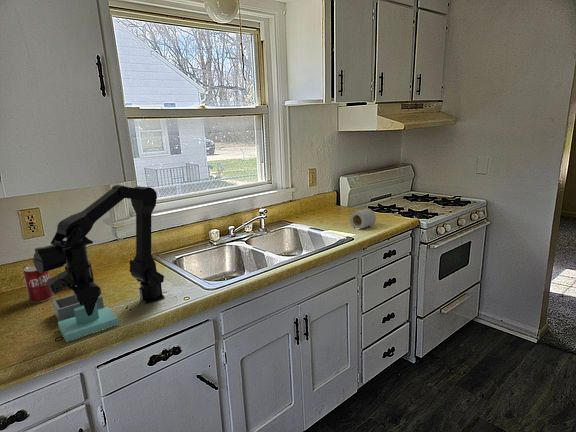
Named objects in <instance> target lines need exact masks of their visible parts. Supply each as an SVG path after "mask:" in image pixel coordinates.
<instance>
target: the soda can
mask: <svg viewBox="0 0 576 432" xmlns="http://www.w3.org/2000/svg"><path fill="white" fill-rule="evenodd" d="M22 273H23V278H24V282H25V287H26V292H27V297H28V300H29V302H30V303H31V304H38V303H44V302H47V301H49V300H50V299H52V297H53V296H54V293H53V292H52V291H51V289H50V288H49V287H48V285H47V284H46V281H47V280H49V279H51V278H50V274H49V271H47V272H43V273H39V272H38V271H37V269H36V268H35V265H34V264H33V265H30V266H27V267H26V268H24V269H23V272H22Z"/></svg>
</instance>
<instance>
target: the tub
mask: <svg viewBox="0 0 576 432" xmlns="http://www.w3.org/2000/svg"><path fill="white" fill-rule="evenodd" d="M96 304H97V308H98V310H99V309H102V308H105V307H104V301H103V296H102V295H101V294H100V296H99V297H98V299H97V302H96ZM81 306H84V305H80V303H79V301H77V300H76V298H75V295H74V294H70V295H67V296H64V297H63V296H62V297H59V298H57V299H52V307H53V311H54V316H55V317H56V320H57V322H60V321H63V320H66V319H69V318H73V317H75V313H74V309H75V308H78V307H81Z"/></svg>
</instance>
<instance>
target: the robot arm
mask: <svg viewBox="0 0 576 432" xmlns="http://www.w3.org/2000/svg"><path fill="white" fill-rule="evenodd" d="M157 194H158V193H157V191H156V190H155V189H154V188H152V187H148V186H140V185H138V186H135V187H129V186H126V185H123V184H122V185H120V184H115V185H113V186H112V187H111V189H110V190H108V191H107V192H105V193H104V194H103V195H101V196H100V197H99V198H98V199H97V200H95V201H94V202H93V203H91V204H90V205H88V207H86V208H85V209H83V210H81V211H79V212H76V213H74V214H72V215H69V216H67V217H65V218H64V219H62V220H60V221H59V223H58V224H57V228H56V232H55V234H54V236H53V238H52V240H51V241H50V245H46V246H43V247H36V248H34V254H33V259H32V262H33V266H34V265H35V268H36V269H37V271H38V272H39V273H43V272H47V271H48V272H49V271H52V270H53V271H54V270H56V269H59V268H62V267H64V271H62V272H60V273H58V274H56V275H53V276H52V277H51V278H50V279H49V280H47V281H46V284H47V285H48V287H49V288H50V289H51V291H52V293H53V295H56V294H58V293H60V292H61V291H62V290H65V288H68V289H70V290H73V295H75V298H76V300H77V301H79V303H80V305H84V308H85V310H86V313H87V315H88V316H90V315H92V313H93V310H94V307H95V305H96V302H97V299H98V297H99V296H100V295H101V294H102V289H101V287H100V285H98V283H96V282H95V281H94V282H92V283H89V282H90V281H93V278H94V276H93V277H92V276H91V272H90V268H91V267H92V263H91V264H90V263H89V261H88V259H89V255H88V250H87V246H89V245H91V244H94V241H93V240H91V239H89V238H88V237H87V235H88V234H89V232H90V231H91V230H92V229H93V226H94V224H95V223H96V222H97V221H98V220H99V219H100V218H102V217H103V216H104V215H106V214H107V213H108V212H109V211H110V210H112V209H113V208H114V207H116V206H117V205H118V204H119V203H121V201H123V200H124V199H130V202H131V206H132V208H133V211H134V212H135V243H136V244H135V246H136V247H135V251H136V253H135V256H134V258H133V259H130V260H129V273H130V275H131V277H133V278H134V279H136V281H137V282H138V283H139V284H140V286H139V289H138V291H139V297H140V299H141V300H142V301H143V302H144V303H146V304H149V303H153V302H156V301H159V300H162V299H165V298H166V297H165V295H164V294H163V289H162V283H163V282H164V280H165V275H163V274H162V273H160V272H158V270H157V265H156V261H155V259H154V257H153V255H152V254H153V253H152V213H153V211H154V210H155V207H156V205H157V199H158V195H157ZM64 265H65V266H64Z"/></svg>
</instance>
